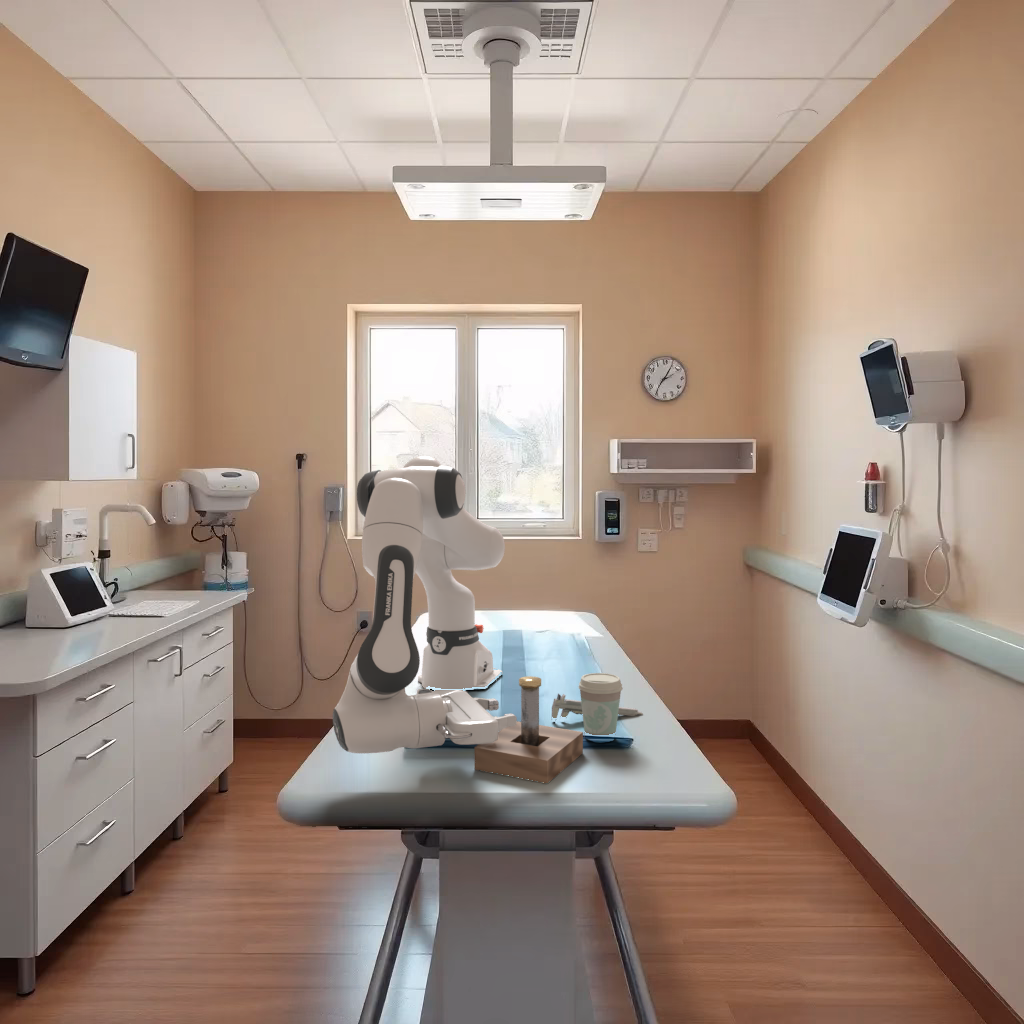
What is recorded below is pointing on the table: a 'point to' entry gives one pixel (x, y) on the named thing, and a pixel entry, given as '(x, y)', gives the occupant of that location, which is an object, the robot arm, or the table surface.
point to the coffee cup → (600, 702)
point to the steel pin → (530, 710)
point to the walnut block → (530, 753)
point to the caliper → (577, 707)
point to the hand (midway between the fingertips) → (506, 711)
